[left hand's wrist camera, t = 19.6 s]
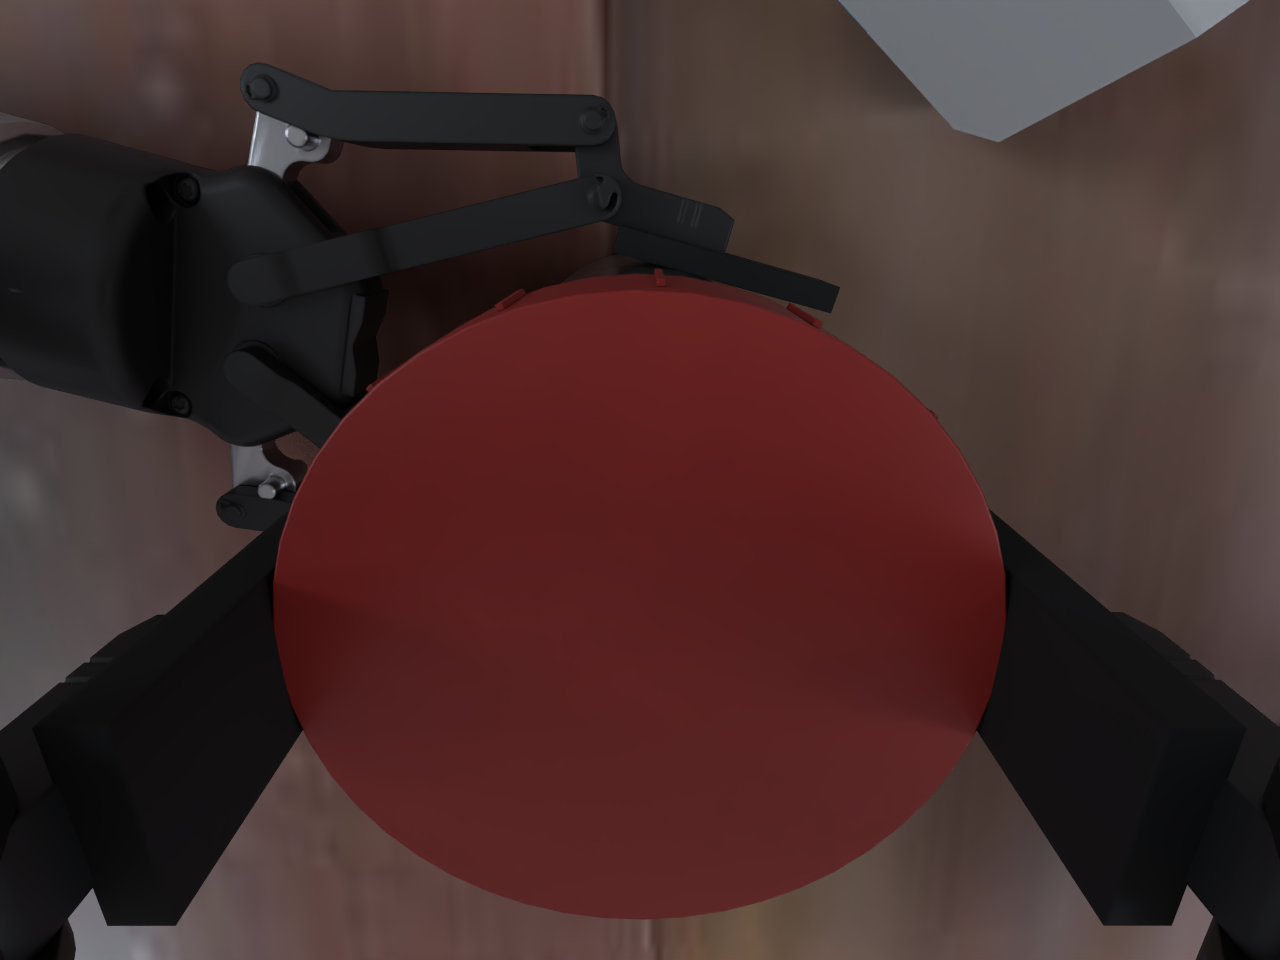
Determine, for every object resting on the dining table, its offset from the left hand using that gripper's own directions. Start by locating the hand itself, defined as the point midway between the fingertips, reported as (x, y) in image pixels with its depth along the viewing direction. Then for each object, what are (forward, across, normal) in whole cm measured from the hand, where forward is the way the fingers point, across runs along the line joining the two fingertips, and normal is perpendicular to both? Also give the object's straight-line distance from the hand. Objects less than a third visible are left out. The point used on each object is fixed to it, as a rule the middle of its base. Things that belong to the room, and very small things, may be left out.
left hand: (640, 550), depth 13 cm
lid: (-3, 0, 0) cm, 3 cm away
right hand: (+10, -4, +1) cm, 11 cm away
